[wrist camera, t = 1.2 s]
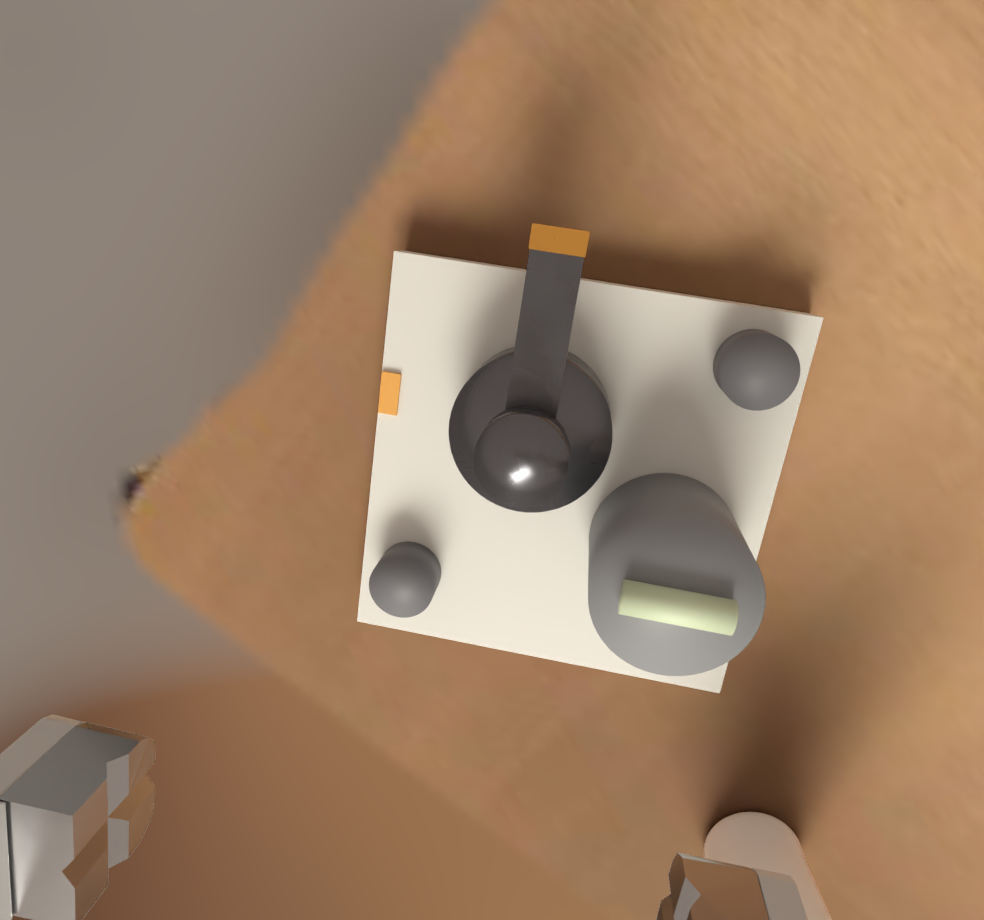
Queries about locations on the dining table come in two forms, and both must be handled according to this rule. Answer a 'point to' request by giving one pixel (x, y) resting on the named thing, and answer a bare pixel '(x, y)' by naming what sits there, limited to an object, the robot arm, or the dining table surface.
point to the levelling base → (611, 500)
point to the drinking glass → (766, 853)
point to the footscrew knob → (536, 395)
